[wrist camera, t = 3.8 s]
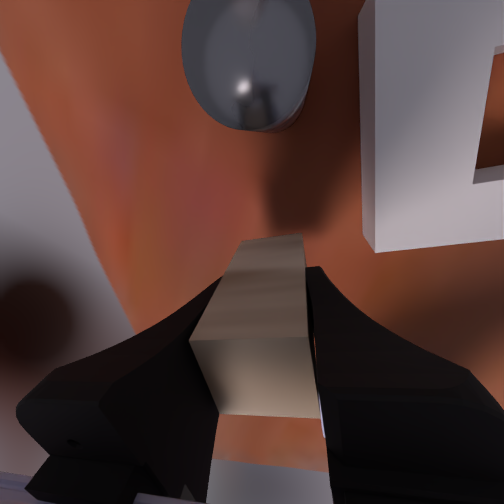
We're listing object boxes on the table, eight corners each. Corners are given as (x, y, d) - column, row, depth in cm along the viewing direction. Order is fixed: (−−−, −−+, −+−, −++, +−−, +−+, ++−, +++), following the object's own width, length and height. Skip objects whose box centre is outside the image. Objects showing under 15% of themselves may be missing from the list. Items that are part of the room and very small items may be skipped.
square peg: (309, 285, 13) (320, 418, 7) (254, 290, 14) (219, 413, 8) (301, 232, 12) (308, 336, 6) (241, 241, 13) (188, 340, 6)
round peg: (309, 124, 12) (322, 112, 6) (248, 139, 13) (203, 142, 7) (301, 46, 11) (307, -76, 5) (234, 68, 11) (162, -11, 5)
